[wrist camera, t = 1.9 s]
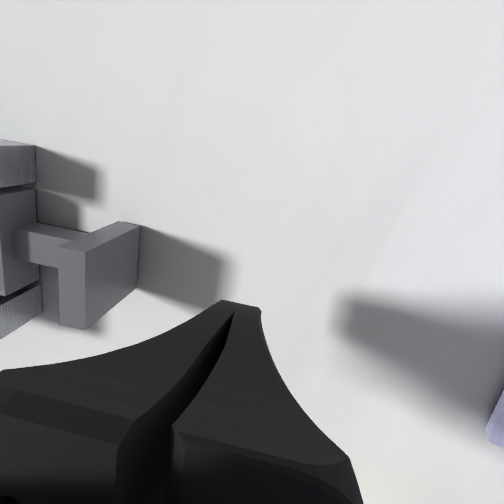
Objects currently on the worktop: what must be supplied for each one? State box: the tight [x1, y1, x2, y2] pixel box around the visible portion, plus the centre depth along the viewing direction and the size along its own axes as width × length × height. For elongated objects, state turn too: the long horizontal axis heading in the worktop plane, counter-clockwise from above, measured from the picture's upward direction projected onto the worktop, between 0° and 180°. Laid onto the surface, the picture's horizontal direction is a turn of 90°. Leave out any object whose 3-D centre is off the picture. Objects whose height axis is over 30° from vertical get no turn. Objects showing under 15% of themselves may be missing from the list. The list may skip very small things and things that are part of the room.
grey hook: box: [0, 186, 140, 330], centre depth 15 cm, size 8×6×4 cm
